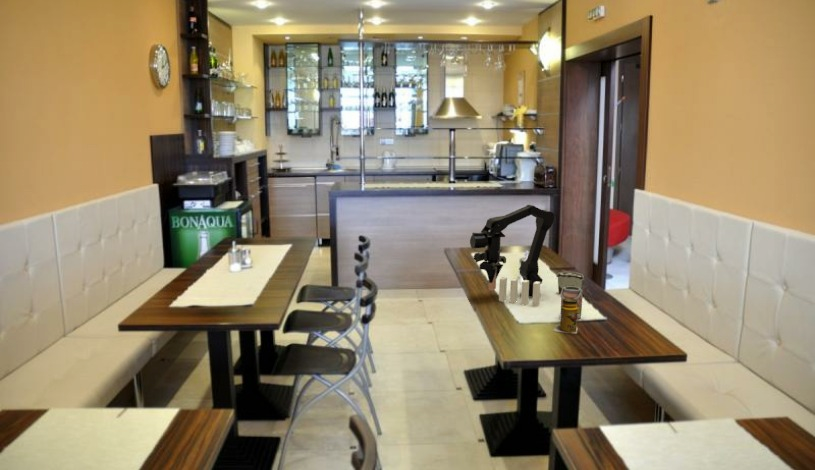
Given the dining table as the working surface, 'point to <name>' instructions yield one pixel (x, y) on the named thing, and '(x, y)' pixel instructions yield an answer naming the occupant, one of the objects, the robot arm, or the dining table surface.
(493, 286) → the domino
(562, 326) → the condiment
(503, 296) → the domino
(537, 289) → the domino
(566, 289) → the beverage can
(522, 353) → the dining table surface
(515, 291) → the domino
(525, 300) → the domino
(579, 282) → the food container
